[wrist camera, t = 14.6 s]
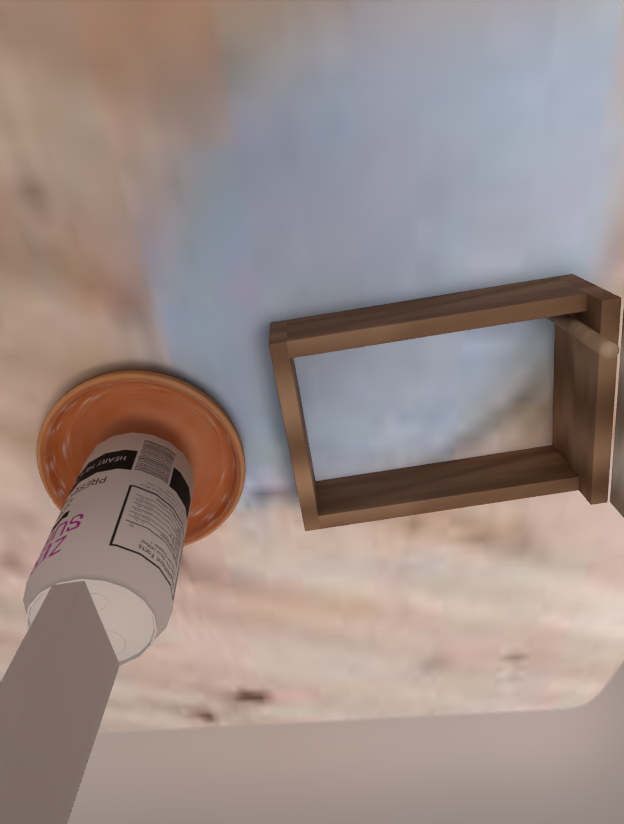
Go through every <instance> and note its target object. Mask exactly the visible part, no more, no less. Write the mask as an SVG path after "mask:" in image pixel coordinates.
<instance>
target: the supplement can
mask: <svg viewBox="0 0 624 824" xmlns="http://www.w3.org/2000/svg"><path fill="white" fill-rule="evenodd" d="M193 490H194V477H193V469H192V467H191V466H190V464H189V462H188V460H187V458H186V457H185V455H184V454H183V453H182V452H181V451H180V450H178V449H177V448H176V447H175V446H174V445H173V444H171V443H170V442H168V441H166V440H163V439H161V438H159V437H156V436H154V435H150V434H141V433H133V432H132V433H126V434H121V435H116V436H112V437H110V438H109V439H107V440H105V441H103V442H102V443H100V444H98V445H97V446H96V447H95V449H94V450H93V451H92V452H91V454H90V455H89V456H88V458H87V459H86V461H85V463H84V465H83V467H82V470H81V472H80V474H79V476H78V478H77V480H76V482H75V484H74V486H73V488H72V490H71V492H70V494H69V496H68V498H67V500H66V502H65V504H64V507H63V509H62V511H61V513H60V515H59V517H58V519H57V521H56V523H55V525H54V527H53V529H52V531H51V533H50V535H49V537H48V539H47V542H46V544H45V546H44V548H43V550H42V552H41V554H40V556H39V558H38V560H37V562H36V564H35V566H34V568H33V570H32V572H31V574H30V576H29V579H28V581H27V584H26V589H25V594H24V599H23V601H24V605H25V609H26V614H27V617H26V625H27V629H28V630H29V628H30V626H31V624H32V622H33V620H34V618H35V617H36V615H37V613H38V611H39V609H40V607H41V605H42V603H43V602H44V600H45V598H46V596H47V594H48V592H49V590H50V588H51V586H52V585H56V584H64V583H71V582H79V581H85V583H86V586H87V588H88V590H89V593H90V595H91V597H92V600H93V602H94V605H95V607H96V609H97V612H98V614H99V616H100V619H101V621H102V624H103V626H104V628H105V631H106V633H107V635H108V638H109V640H110V643H111V645H112V647H113V650H114V652H115V654H116V657H117V659H118V662H119V664H120V665H119V666H124V665H126V664H128V663H130V662H132V661H134V660H136V659H138V658H140V657H141V656H142V655H143V654H144V653H145V652H146V651H147V650H148V649H149V648H150V647H151V646H152V644H153V641H154V640H155V639H156V638H157V637H158V636H159V635H160V634H161V632H162V631H163V630H164V629H165V628H166V627H167V624H168V621H169V618H170V615H171V612H172V608H173V602H174V597H175V591H176V585H177V580H178V574H179V569H180V563H181V557H182V552H183V546H184V540H185V535H186V529H187V524H188V518H189V512H190V507H191V501H192V495H193Z"/></svg>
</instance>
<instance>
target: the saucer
mask: <svg viewBox="0 0 624 824" xmlns="http://www.w3.org/2000/svg"><path fill="white" fill-rule="evenodd" d="M132 432H133V433H141V434H150V435H154V436H156V437H159V438H161V439H163V440H166V441H168V442H170V443H171V444H173V445H174V446H175V447H176V448H177V449H178V450H180V451H181V452H182V453H183V454H184V455H185V457H186V458H187V460H188V462H189V464H190V466H191V467H192V469H193V477H194V490H193V495H192V501H191V507H190V512H189V518H188V524H187V529H186V535H185V540H184V546H185V545H188V544H191V543H194V542H196V541H198V540H200V539H202V538H204V537H206V536H207V535H209V534H210V533H212V532H213V531H214V530H216V529H217V528H218V527H219V526H220V525H221V524H223V523H224V522H225V520H226V519H227V518H228V517H229V516H230V514H231V513H232V511H233V510H234V508H235V507H236V505H237V503H238V501H239V499H240V496H241V493H242V490H243V486H244V480H245V458H244V452H243V447H242V443H241V440H240V437H239V435H238V433H237V430H236V428H235V427H234V425H233V423H232V422H231V420H230V419H229V417H228V416H227V414H226V413H225V412H224V411H223V409H222V408H221V407H220V406H219V405H218V404H217V403H216V402H215V401H214V400H213V399H211V398H210V397H209V396H208V395H206V394H205V393H204V392H202V391H201V390H199V389H198V388H196V387H194V386H192V385H191V384H189V383H186V382H184V381H182V380H180V379H178V378H175V377H172V376H168V375H165V374H161V373H156V372H150V371H141V370H126V371H116V372H111V373H106V374H103V375H100V376H97V377H94V378H92V379H90V380H87V381H85V382H84V383H82V384H80V385H78V386H77V387H75V388H74V389H72V390H71V391H69V392H68V393H67V394H65V395H64V396H63V397H62V398H61V399H60V400H59V401H58V402H57V403H56V404H55V405H54V407H53V408H52V409H51V410H50V412H49V413H48V415H47V417H46V419H45V420H44V422H43V425H42V427H41V430H40V433H39V437H38V442H37V462H38V469H39V473H40V476H41V479H42V482H43V484H44V486H45V489H46V491H47V492H48V494H49V496H50V497H51V499H52V500H53V502H54V503H55V505H56V506H57V507H58V508H59V510H60V511H62V509H63V507H64V504H65V502H66V500H67V498H68V496H69V494H70V492H71V490H72V488H73V486H74V484H75V482H76V480H77V478H78V476H79V474H80V472H81V470H82V467H83V465H84V463H85V461H86V459H87V458H88V456H89V455H90V454H91V452H92V451H93V450H94V449H95V447H96V446H97V445H98V444H100V443H102V442H103V441H105V440H107V439H109V438H110V437H112V436H116V435H121V434H126V433H132Z"/></svg>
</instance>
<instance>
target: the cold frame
mask: <svg viewBox="0 0 624 824" xmlns="http://www.w3.org/2000/svg"><path fill="white" fill-rule="evenodd" d="M620 309H621V297H619V296H616V295H614V294H612V293H610V292H608V291H606V290H604V289H602V288H600V287H598V286H596V285H594V284H592V283H590V282H588V281H586V280H584V279H582V278H580V277H577V276H575V275H573V274H570V275H564V276H558V277H551V278H545V279H539V280H533V281H527V282H520V283H514V284H508V285H502V286H496V287H490V288H483V289H477V290H471V291H465V292H459V293H453V294H446V295H440V296H434V297H428V298H422V299H415V300H409V301H403V302H397V303H391V304H385V305H378V306H372V307H366V308H360V309H354V310H348V311H341V312H335V313H329V314H323V315H317V316H310V317H304V318H298V319H292V320H286V321H280V322H273V323H271V325H270V337H269V348H270V353H271V358H272V363H273V368H274V374H275V379H276V384H277V389H278V394H279V399H280V404H281V409H282V414H283V420H284V425H285V430H286V435H287V440H288V445H289V450H290V455H291V460H292V466H293V471H294V476H295V481H296V486H297V491H298V496H299V501H300V506H301V512H302V517H303V522H304V527H305V531H310V530H316V529H323V528H330V527H336V526H343V525H349V524H356V523H363V522H369V521H376V520H383V519H389V518H396V517H403V516H409V515H416V514H422V513H429V512H436V511H442V510H449V509H456V508H462V507H469V506H476V505H482V504H489V503H496V502H502V501H509V500H515V499H522V498H529V497H535V496H542V495H549V494H555V493H562V492H569V491H575V490H579V491H580V492H581V493H582V494H583V496H584V497H585V498H586V499H587V501H588V502H589V503H590V504H591V505H592V504H599V503H606V502H607V499H608V484H609V470H610V455H611V440H612V426H613V411H614V397H615V382H616V368H617V355H618V353H619V347H618V338H619V324H620ZM545 317H547V318H548V319H549V320H551V321H552V322H554V323H555V355H554V403H553V445H552V446H545V447H539V448H532V449H526V450H519V451H513V452H506V453H500V454H493V455H487V456H480V457H474V458H467V459H461V460H454V461H448V462H441V463H434V464H428V465H421V466H415V467H408V468H402V469H395V470H389V471H382V472H376V473H369V474H363V475H356V476H350V477H343V478H337V479H330V480H323V481H317V482H315V476H314V471H313V465H312V459H311V454H310V448H309V443H308V437H307V432H306V426H305V420H304V415H303V409H302V404H301V398H300V392H299V387H298V381H297V376H296V370H295V364H294V359H293V358H295V357H301V356H307V355H314V354H320V353H326V352H332V351H339V350H345V349H351V348H358V347H364V346H370V345H376V344H383V343H389V342H395V341H401V340H408V339H414V338H420V337H426V336H433V335H439V334H445V333H451V332H458V331H464V330H470V329H476V328H483V327H489V326H495V325H501V324H508V323H514V322H520V321H526V320H533V319H539V318H545ZM610 502H611V504H612V505H613V506H614V507H615V508H616V509H617V510H618V511H619V513H620V514H621V515H622V516H623V517H624V311H623V325H622V340H621V354H620V368H619V382H618V396H617V410H616V424H615V438H614V452H613V466H612V481H611V495H610Z"/></svg>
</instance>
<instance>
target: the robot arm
mask: <svg viewBox="0 0 624 824" xmlns="http://www.w3.org/2000/svg"><path fill="white" fill-rule="evenodd" d="M119 665H120V664H119V662H118V659H117V657H116V654H115V652H114V650H113V647H112V645H111V643H110V640H109V638H108V635H107V633H106V631H105V628H104V626H103V624H102V621H101V619H100V616H99V614H98V612H97V609H96V607H95V605H94V602H93V600H92V597H91V595H90V593H89V590H88V588H87V586H86V583H85V581H79V582H71V583H64V584H56V585H52V586H51V588H50V590H49V592H48V594H47V596H46V598H45V600H44V602H43V603H42V605H41V607H40V609H39V611H38V613H37V615H36V617H35V618H34V620H33V622H32V624H31V626H30V628H29V630H28V632H27V634H26V635H25V637H24V639H23V641H22V643H21V645H20V647H19V649H18V650H17V652H16V654H15V656H14V658H13V660H12V662H11V664H10V666H9V667H8V669H7V671H6V673H5V675H4V677H3V679H2V681H1V682H0V824H67V823H68V819H69V817H70V814H71V811H72V807H73V804H74V801H75V798H76V795H77V792H78V789H79V786H80V783H81V780H82V777H83V774H84V771H85V768H86V765H87V762H88V759H89V756H90V753H91V750H92V747H93V744H94V741H95V738H96V735H97V732H98V729H99V726H100V723H101V720H102V717H103V714H104V711H105V708H106V705H107V702H108V699H109V696H110V693H111V690H112V687H113V683H114V680H115V677H116V674H117V671H118V668H119Z"/></svg>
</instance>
